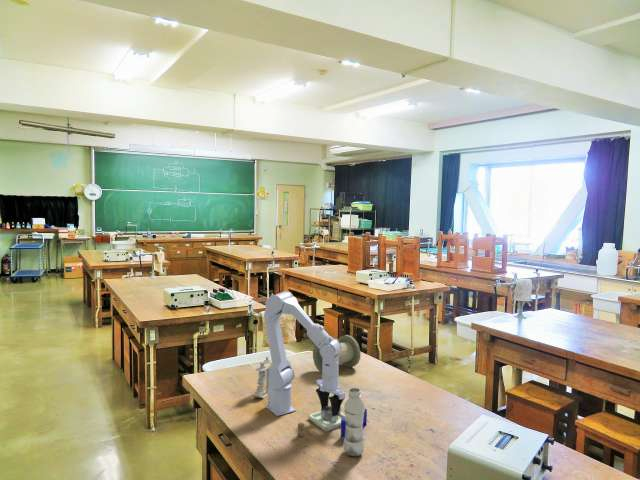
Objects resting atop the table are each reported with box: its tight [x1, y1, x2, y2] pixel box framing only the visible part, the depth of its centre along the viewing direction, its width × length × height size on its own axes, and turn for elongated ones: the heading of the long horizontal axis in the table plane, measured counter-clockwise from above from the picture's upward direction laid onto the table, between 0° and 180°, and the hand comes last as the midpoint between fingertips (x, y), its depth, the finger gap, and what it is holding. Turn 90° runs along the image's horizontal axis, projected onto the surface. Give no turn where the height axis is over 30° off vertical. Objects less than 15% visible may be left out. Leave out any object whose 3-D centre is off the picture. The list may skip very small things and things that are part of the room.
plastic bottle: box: [343, 387, 366, 457], centre depth 136 cm, size 6×7×20 cm
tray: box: [307, 410, 345, 432], centre depth 157 cm, size 11×11×2 cm
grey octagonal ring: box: [320, 405, 342, 421], centre depth 157 cm, size 6×7×3 cm
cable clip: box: [340, 408, 368, 439], centre depth 150 cm, size 12×4×6 cm, turn 145°
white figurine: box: [251, 356, 271, 399], centre depth 177 cm, size 4×10×15 cm, turn 163°
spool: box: [312, 334, 361, 374], centre depth 207 cm, size 16×15×15 cm
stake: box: [297, 422, 305, 438], centre depth 147 cm, size 2×2×4 cm
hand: (329, 411), depth 157 cm, fingers closed on grey octagonal ring, 6 cm apart
